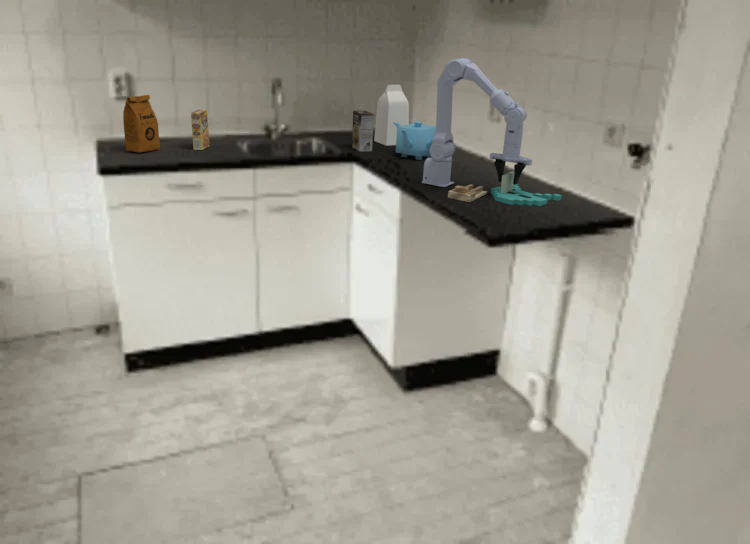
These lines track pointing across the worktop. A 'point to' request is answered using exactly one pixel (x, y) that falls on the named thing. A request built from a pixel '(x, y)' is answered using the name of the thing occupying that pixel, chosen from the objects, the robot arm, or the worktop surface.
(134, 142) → the coffee package
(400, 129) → the teakettle
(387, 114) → the milk
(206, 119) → the candy box
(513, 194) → the alien figure
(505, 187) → the panel
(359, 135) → the coffee box
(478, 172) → the worktop surface
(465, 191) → the offcut
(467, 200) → the rack
